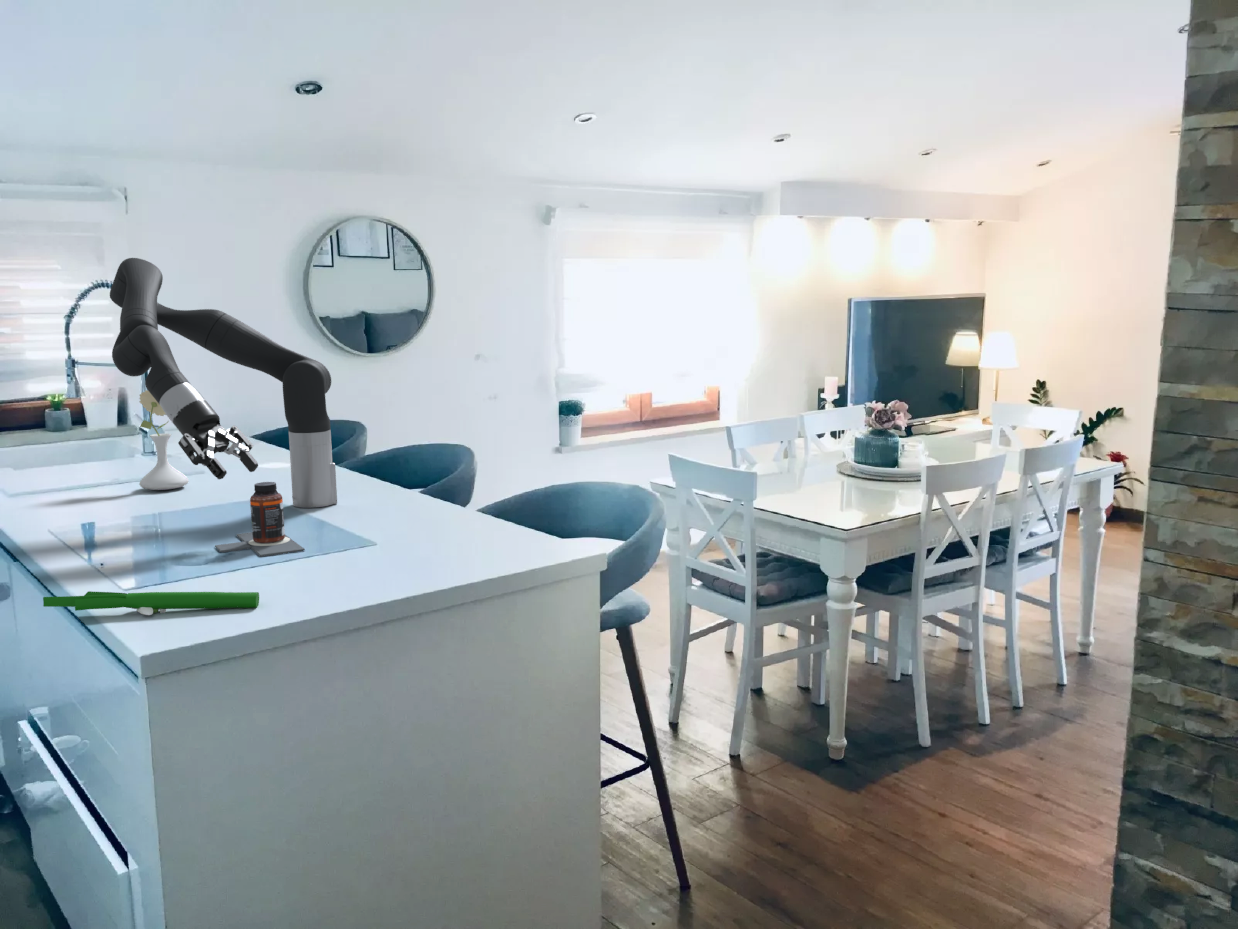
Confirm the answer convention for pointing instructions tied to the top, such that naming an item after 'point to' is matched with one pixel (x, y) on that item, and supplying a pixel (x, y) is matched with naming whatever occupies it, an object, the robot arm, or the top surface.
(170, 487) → the flower in vase
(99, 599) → the green onion
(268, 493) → the supplement bottle
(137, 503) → the top surface
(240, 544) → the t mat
